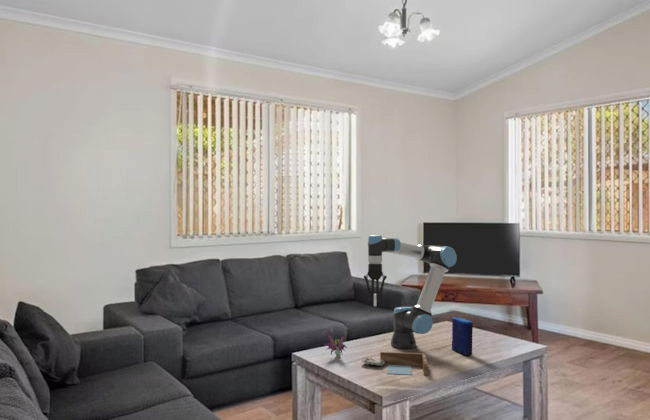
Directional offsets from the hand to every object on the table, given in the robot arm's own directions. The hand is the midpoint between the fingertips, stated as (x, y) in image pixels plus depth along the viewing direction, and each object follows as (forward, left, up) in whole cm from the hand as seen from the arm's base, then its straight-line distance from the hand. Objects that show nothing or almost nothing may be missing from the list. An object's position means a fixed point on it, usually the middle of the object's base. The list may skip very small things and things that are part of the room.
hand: (375, 305), depth 267 cm
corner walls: (+16, +13, -29) cm, 36 cm away
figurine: (+1, -21, -30) cm, 36 cm away
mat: (+17, +13, -29) cm, 36 cm away
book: (-19, +49, -30) cm, 60 cm away
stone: (+15, +1, -30) cm, 34 cm away
